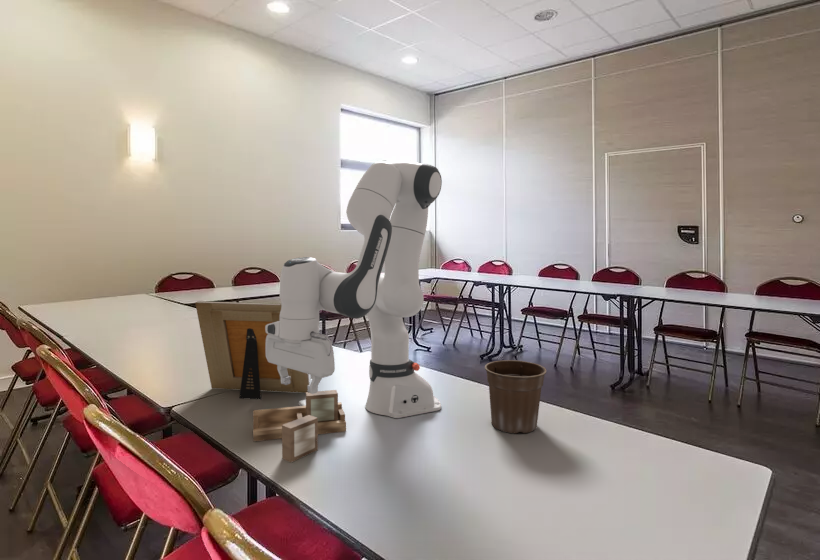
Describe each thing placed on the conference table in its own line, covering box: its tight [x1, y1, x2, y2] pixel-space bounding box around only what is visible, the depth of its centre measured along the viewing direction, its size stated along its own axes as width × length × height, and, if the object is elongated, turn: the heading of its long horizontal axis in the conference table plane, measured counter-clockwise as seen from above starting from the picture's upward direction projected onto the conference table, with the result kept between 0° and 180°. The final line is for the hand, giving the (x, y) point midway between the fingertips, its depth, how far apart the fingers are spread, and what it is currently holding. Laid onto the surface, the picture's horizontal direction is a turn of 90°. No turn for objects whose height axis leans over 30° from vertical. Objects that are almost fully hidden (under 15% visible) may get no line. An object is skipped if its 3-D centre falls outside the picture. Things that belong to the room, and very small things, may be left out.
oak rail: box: [252, 401, 347, 442], centre depth 126 cm, size 23×8×5 cm, turn 108°
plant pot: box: [484, 359, 547, 434], centre depth 131 cm, size 16×16×16 cm
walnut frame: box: [281, 415, 319, 463], centre depth 112 cm, size 8×3×8 cm, turn 142°
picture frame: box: [194, 300, 310, 400], centre depth 151 cm, size 33×10×30 cm, turn 84°
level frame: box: [305, 389, 339, 423], centre depth 127 cm, size 8×3×8 cm, turn 108°
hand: (298, 388), depth 111 cm, fingers open, 8 cm apart
